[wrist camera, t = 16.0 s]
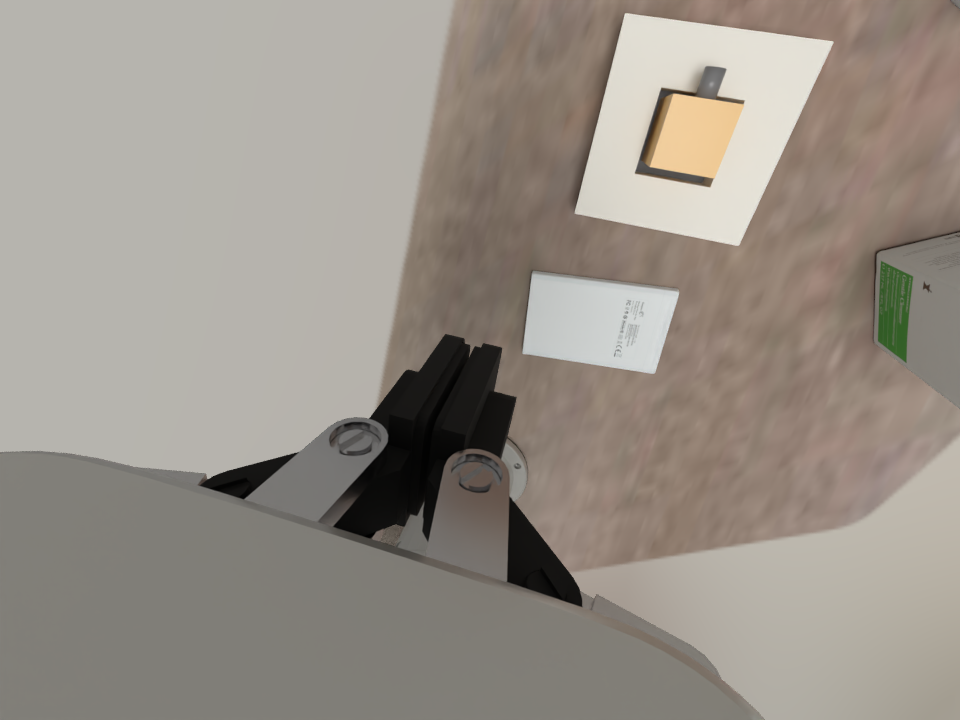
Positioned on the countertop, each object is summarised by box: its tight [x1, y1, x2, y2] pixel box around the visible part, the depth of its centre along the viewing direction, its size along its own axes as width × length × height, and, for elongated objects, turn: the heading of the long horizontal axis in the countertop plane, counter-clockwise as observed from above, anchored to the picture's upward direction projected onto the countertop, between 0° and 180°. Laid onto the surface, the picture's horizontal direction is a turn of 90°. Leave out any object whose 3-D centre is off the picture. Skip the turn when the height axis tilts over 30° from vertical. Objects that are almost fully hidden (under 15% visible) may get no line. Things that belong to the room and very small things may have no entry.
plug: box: [641, 66, 744, 179], centre depth 28 cm, size 6×4×6 cm
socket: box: [575, 13, 833, 246], centre depth 29 cm, size 12×12×3 cm
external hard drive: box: [522, 271, 679, 374], centre depth 39 cm, size 2×8×12 cm
